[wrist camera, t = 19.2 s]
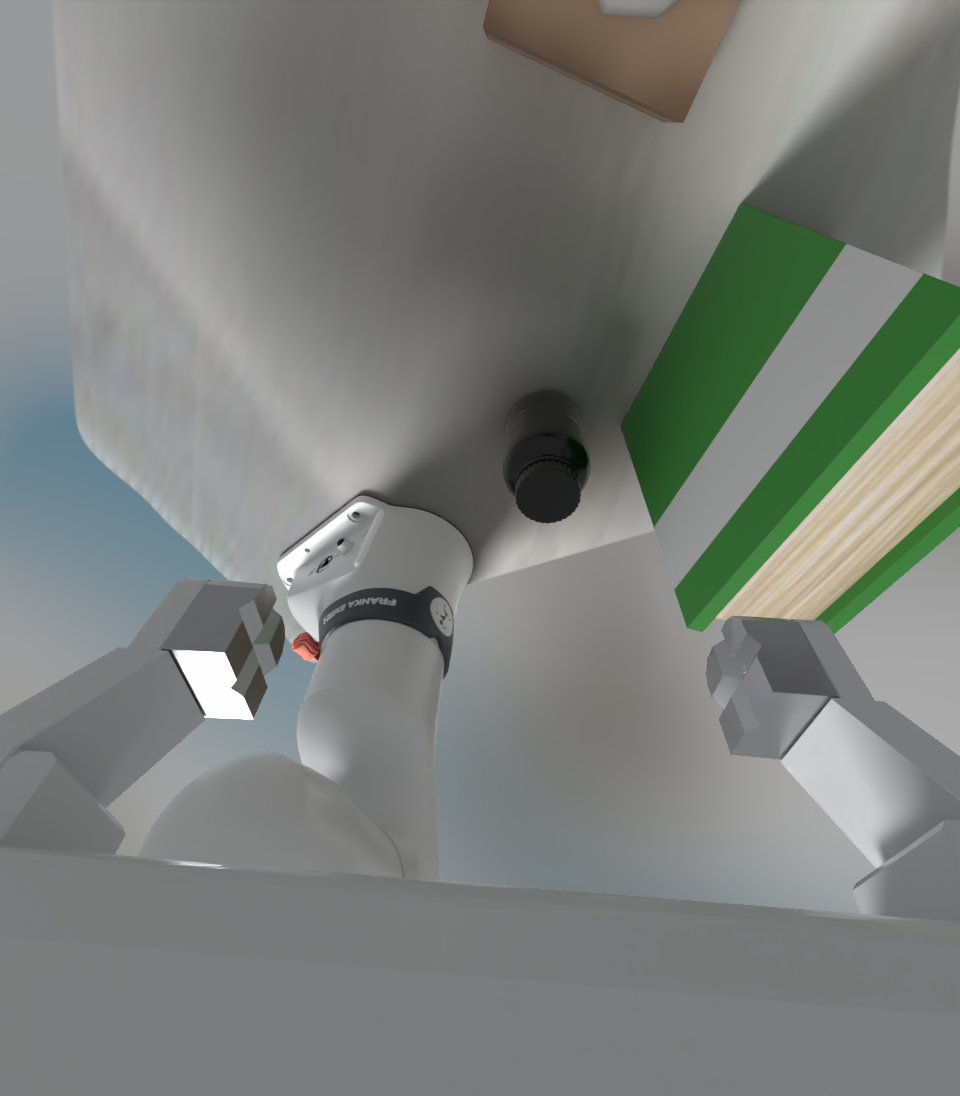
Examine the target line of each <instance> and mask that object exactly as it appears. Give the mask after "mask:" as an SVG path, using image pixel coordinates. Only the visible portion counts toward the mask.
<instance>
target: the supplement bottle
mask: <svg viewBox="0 0 960 1096" xmlns="http://www.w3.org/2000/svg"><path fill="white" fill-rule="evenodd" d="M503 474H504V479H505V483H506V485H507V487H508V489H509V490H510V492H511V493H512V494H513V495H514V496H515V498H516V504H517V505H518V508H519V509H520V510H521V512H522V513H523V514H525V516H526V517H528V518H530V519H531V520H534V521H536V522H541V523H551V522H553V523H555V522H557V521H561V520H562V519H566V518H567V517H568V516H570V515H571V514H572V512H574V511H575V509H576V508H577V507H578V503H579V502H580V497H581V492H582V490H583V489H584V487H585V486H586V484H587V482H588V479H589V475H590V459H589V453H588V448H587V443H586V438H585V433H584V428H583V423H582V419H581V415H580V412H579V410H578V408H577V407H576V405H575V404H574V403H573V402H572V401H571V400H570V399H569V398H567V397H566V396H564V395H562V394H559V393H556V392H552V391H539V392H535V393H532V394H529V395H527V396H525V397H524V398H522V399H521V400H520V401H518V402H517V403H516V404H515V406H514V407H513V408H512V410H511V412H510V413H509V416H508V419H507V423H506V433H505V448H504V462H503Z"/></svg>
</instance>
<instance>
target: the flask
mask: <svg viewBox="0 0 960 1096" xmlns="http://www.w3.org/2000/svg"><path fill="white" fill-rule="evenodd" d="M679 1H680V0H598V3H599V5H600V8H601V11H602V13H603V14H606V15H620V16H634V17H648V18H660V17H661V16H662V15H663V14H664V13H666V12H667V11H668V10H669V9H670V8H672V7H673V6H674V5H675V4H677V3H678V2H679Z"/></svg>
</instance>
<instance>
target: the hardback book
mask: <svg viewBox="0 0 960 1096" xmlns="http://www.w3.org/2000/svg"><path fill="white" fill-rule="evenodd" d="M621 429H622V432H623V435H624V438H625V441H626V444H627V447H628V450H629V453H630V456H631V459H632V462H633V465H634V468H635V471H636V474H637V477H638V480H639V483H640V486H641V490H642V493H643V496H644V499H645V502H646V505H647V508H648V511H649V514H650V517H651V520H652V523H653V526H654V529H655V532H656V535H657V538H658V541H659V544H660V547H661V550H662V553H663V556H664V559H665V562H666V565H667V568H668V571H669V574H670V577H671V580H672V583H673V586H674V589H675V593H676V596H677V599H678V601H679V605H680V608H681V611H682V614H683V617H684V620H685V623H686V626H687V628H689V629H693V630H697V631H701V632H703V631H704V629H706V627H707V626H708V625H709V624H710V623H711V622H712V621H713V620H714V619H715V618H718V619H722V620H725V621H726V620H727V619H729V618H730V617H731V616H749V617H766V618H783V619H789V620H790V619H800V620H817V621H823V622H824V623H825V624H827V625H828V626H829V627H830V629H831V630H832V632H833V633H834V634H835V633H836V632H837V631H838V630H840V629H841V628H842V627H843V626H844V625H845V624H847V623H848V622H849V621H850V620H851V619H852V618H854V617H855V616H856V615H857V614H858V613H859V612H861V611H862V610H863V609H864V608H865V607H866V606H868V605H869V604H870V603H871V602H872V601H873V600H875V598H877V597H878V596H879V595H880V594H881V593H883V592H884V591H885V590H886V589H887V588H888V587H890V586H891V585H892V584H893V583H894V582H896V581H897V580H898V579H899V578H900V577H901V576H903V575H904V574H905V573H906V572H907V571H908V570H910V569H911V568H912V567H913V566H914V565H915V564H916V563H918V562H919V561H920V560H921V559H922V558H923V557H925V556H926V555H927V554H928V553H929V552H930V551H932V550H933V549H934V548H935V547H936V546H937V545H939V544H940V543H941V542H942V541H943V540H944V539H946V538H947V537H948V536H949V535H950V534H951V533H953V532H954V531H955V530H956V529H957V528H958V527H960V287H957V286H955V285H952V284H950V283H947V282H944V281H942V280H939V279H937V278H934V277H932V276H929V275H926V274H924V273H921V272H919V271H916V270H913V269H911V268H908V267H906V266H903V265H900V264H898V263H895V262H893V261H890V260H887V259H885V258H882V257H879V256H877V255H874V254H872V253H869V252H866V251H864V250H861V249H859V248H856V247H853V246H851V245H848V244H846V243H843V242H840V241H838V240H835V239H833V238H830V237H827V236H825V235H822V234H820V233H817V232H814V231H812V230H809V229H807V228H804V227H801V226H799V225H796V224H794V223H791V222H788V221H786V220H783V219H781V218H778V217H775V216H773V215H770V214H768V213H765V212H762V211H760V210H757V209H754V208H752V207H749V206H747V205H744V204H740V206H739V207H738V209H737V211H736V213H735V215H734V217H733V219H732V220H731V222H730V224H729V226H728V228H727V230H726V232H725V233H724V235H723V237H722V239H721V241H720V243H719V245H718V246H717V248H716V250H715V252H714V254H713V256H712V258H711V259H710V261H709V263H708V265H707V267H706V269H705V271H704V272H703V274H702V276H701V278H700V280H699V282H698V284H697V285H696V287H695V289H694V291H693V293H692V295H691V297H690V298H689V300H688V302H687V304H686V306H685V308H684V310H683V311H682V313H681V315H680V317H679V319H678V321H677V323H676V324H675V326H674V328H673V330H672V332H671V334H670V336H669V337H668V339H667V341H666V343H665V345H664V347H663V349H662V350H661V352H660V354H659V356H658V358H657V360H656V362H655V363H654V365H653V367H652V369H651V371H650V373H649V375H648V376H647V378H646V380H645V382H644V384H643V386H642V388H641V389H640V391H639V393H638V395H637V397H636V399H635V401H634V402H633V404H632V406H631V408H630V410H629V412H628V414H627V415H626V417H625V419H624V421H623V423H622V425H621Z"/></svg>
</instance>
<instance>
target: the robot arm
mask: <svg viewBox="0 0 960 1096" xmlns="http://www.w3.org/2000/svg"><path fill="white" fill-rule="evenodd" d="M354 512H358V513H359V514H360V515H357V514H355V513H354ZM277 569H278V573H279V576H280V578H281V580H282V582H283V583H284V585H285V586H286V588H287V589H288V597H287V600H288V605H289V608H290V610H291V612H292V614H293V616H294V617H295V619H296V620H297V621H298V622H299V624H300V625H301V626H302V627H303V628H304V629H305V630H306V631H307V632H308V633H307V632H305V633H302V634H300V635H299V636H297V638H296V639H295V640H294V642H293V643H292V646H291V648H292V650H293V651H295V652H296V653H298V654H300V655H301V656H302V657H303V659H304V660H310V659H312V658H313V659H314V660H315V661H316V662H318V663H317V665H316V668H315V671H314V674H313V676H312V679H311V682H310V684H309V687H308V691H307V693H306V695H305V698H304V701H303V704H302V706H301V709H300V711H299V715H298V720H297V744H298V750H299V753H300V757H301V762H302V764H301V763H299V762H297V761H295V760H292V759H291V758H288V757H286V756H284V755H282V754H279V753H275V752H269V751H256V752H250V753H245V754H242V755H239V756H236V757H233V758H231V759H228V760H226V761H224V762H222V763H219V764H217V765H216V766H214V767H212V768H211V769H209V770H207V771H206V772H204V773H203V774H201V775H200V776H199V777H197V778H196V779H195V780H193V781H192V782H191V783H190V784H188V785H187V786H186V787H185V788H184V789H183V790H182V791H181V792H180V793H179V794H178V795H177V796H176V797H175V798H174V799H173V800H172V801H171V802H170V803H169V804H168V805H167V807H166V808H165V809H164V811H163V812H162V813H161V815H160V816H159V818H158V819H157V821H156V822H155V823H154V825H153V827H152V829H151V830H150V832H149V834H148V836H147V837H146V839H145V842H144V844H143V846H142V848H141V850H140V853H139V855H138V857H134V856H122V855H115V853H116V851H117V850H118V848H119V846H120V844H121V842H122V840H123V838H124V836H125V832H124V828H123V826H122V825H121V824H120V823H119V822H118V821H117V820H116V819H115V817H114V816H112V814H111V813H110V812H109V811H108V810H107V809H106V807H107V806H108V805H110V803H112V802H113V801H114V800H115V799H116V798H117V797H118V796H120V795H121V794H122V793H123V792H124V791H125V790H126V789H128V788H129V787H130V786H131V785H132V784H133V783H134V782H136V780H138V779H139V778H140V777H141V776H142V775H143V774H145V773H146V772H147V771H148V770H149V769H150V768H151V767H153V766H154V765H155V764H156V763H157V762H158V761H159V760H160V759H161V758H163V757H164V756H165V755H166V754H167V753H168V752H169V751H170V750H172V749H173V748H174V747H175V746H176V745H177V744H178V743H180V742H181V741H182V740H183V739H184V738H185V737H186V736H188V734H189V733H191V732H192V731H193V730H194V729H195V728H197V727H198V726H199V725H200V724H201V723H202V722H203V721H205V718H204V717H211V718H234V719H254V716H255V714H256V712H257V710H258V708H259V705H260V703H261V701H262V698H263V696H264V694H265V692H266V690H267V684H266V681H265V679H264V676H265V675H266V674H267V673H268V672H270V671H271V670H272V669H274V668H275V667H277V664H278V662H279V660H280V657H281V655H282V652H283V646H284V641H285V627H284V623H283V619H282V616H281V615H279V614H278V613H277V612H276V611H275V610H273V609H272V608H273V606H274V604H275V602H276V600H277V599H276V596H275V593H274V591H273V588H272V586H270V585H267V584H258V583H247V582H236V581H225V580H214V579H213V580H209V579H198V578H187V577H185V578H183V579H181V580H179V581H177V582H176V583H175V584H174V586H173V587H172V588H171V590H170V591H169V592H168V594H167V595H166V596H165V598H164V599H163V600H162V602H161V603H160V604H159V606H158V607H157V608H156V610H155V611H154V612H153V614H152V615H151V617H150V618H149V619H148V621H147V622H146V623H145V625H144V626H143V627H142V629H141V630H140V631H139V633H138V634H137V635H136V637H135V638H134V639H133V641H132V642H131V643H130V645H129V646H128V647H127V648H122V647H118V648H116V649H115V650H113V651H111V652H109V653H108V654H106V655H104V656H102V657H101V658H99V659H97V660H96V661H94V662H92V663H90V664H88V665H87V666H85V667H83V668H82V669H80V670H78V671H76V672H74V673H73V674H71V675H70V676H67V677H66V678H64V679H62V680H60V681H59V682H57V683H55V684H53V685H52V686H50V687H48V688H46V689H45V690H43V691H41V692H40V693H38V694H36V695H34V696H33V697H31V698H29V699H28V700H26V701H24V702H22V703H20V704H19V705H17V706H15V707H13V708H12V709H10V710H8V711H6V712H5V713H3V714H1V715H0V1096H960V756H958V755H957V754H956V753H954V752H953V751H951V750H950V749H949V748H947V747H946V746H945V745H943V744H942V743H941V742H939V741H938V740H936V739H935V738H934V737H932V736H931V735H930V734H928V733H927V732H925V731H924V730H923V729H921V728H920V727H919V726H917V725H916V724H915V723H913V722H912V721H910V720H909V719H908V718H906V717H905V716H904V715H902V714H901V713H899V712H898V711H897V710H895V709H894V708H893V707H891V706H890V705H888V704H887V703H886V702H881V701H875V700H874V698H873V697H872V696H871V693H870V692H869V690H868V688H867V687H866V686H865V684H864V682H863V680H862V679H861V677H860V676H859V674H858V672H857V671H856V669H855V667H854V666H853V664H852V663H851V661H850V659H849V658H848V656H847V654H846V653H845V651H844V650H843V648H842V647H841V645H840V643H839V642H838V640H837V638H836V637H835V635H834V633H833V632H832V630H831V629H830V627H829V626H828V625H827V624H825V623H824V622H823V621H817V620H800V619H790V620H789V619H783V618H766V617H749V616H731V617H730V618H729V619H727V620H726V622H725V624H724V626H723V628H722V630H721V631H722V633H723V635H724V638H725V640H723V641H721V642H720V643H718V644H716V645H715V646H713V648H712V650H711V652H710V654H709V657H708V659H707V671H706V676H707V683H708V687H709V690H710V693H711V696H712V698H713V699H714V700H715V701H716V702H717V703H718V704H719V705H720V706H721V707H722V708H724V710H723V713H722V715H721V717H720V719H719V721H720V724H721V727H722V729H723V733H724V736H725V739H726V741H727V744H728V747H729V750H730V753H731V755H741V756H751V757H761V758H771V759H781V763H782V764H783V765H784V766H785V768H786V769H787V770H788V771H789V772H790V773H791V774H792V775H793V776H794V778H795V779H796V780H797V781H798V782H799V783H800V784H801V785H802V786H803V787H804V789H805V790H806V791H807V792H808V793H809V794H810V795H811V796H812V797H813V799H814V800H815V801H816V802H817V803H818V804H819V805H820V806H821V807H822V808H823V810H824V811H825V812H826V813H827V814H828V815H829V816H830V817H831V818H832V820H833V821H834V822H835V823H836V824H837V825H838V826H839V827H840V828H841V830H842V831H843V832H844V833H845V834H846V835H847V836H848V837H849V838H850V840H851V841H852V842H853V843H854V844H855V845H856V846H857V847H858V849H859V850H861V852H862V853H863V854H864V855H865V856H866V857H867V858H868V860H869V861H870V862H871V863H872V864H873V865H874V866H875V867H876V868H877V869H875V870H874V871H873V872H871V873H870V874H868V875H867V876H866V877H864V878H863V879H861V880H860V881H859V882H857V883H856V885H855V886H854V888H853V890H852V893H853V895H854V898H855V900H856V903H857V905H858V908H859V910H860V912H861V914H855V913H842V912H829V911H816V910H804V909H791V908H778V907H767V906H754V905H741V904H729V903H716V902H703V901H691V900H678V899H665V898H653V897H641V896H628V895H615V894H602V893H589V892H578V891H565V890H552V889H540V888H527V887H514V886H502V885H489V884H477V883H463V882H452V881H440V879H439V858H438V857H439V853H438V824H437V805H436V788H435V739H436V729H437V721H438V713H439V705H440V697H441V688H442V681H443V679H444V678H445V676H446V674H447V672H448V669H449V662H450V658H451V651H452V644H453V630H454V617H455V615H456V613H457V610H458V606H459V602H460V599H461V596H462V594H463V591H464V589H465V587H466V585H467V583H468V581H469V579H470V577H471V574H472V570H473V557H472V552H471V549H470V547H469V545H468V543H467V541H466V540H465V538H464V537H463V536H462V534H461V533H460V532H459V531H458V530H457V529H456V528H455V527H453V526H452V525H451V524H450V523H448V522H447V521H445V520H444V519H442V518H440V517H438V516H436V515H434V514H431V513H429V512H426V511H422V510H419V509H414V508H406V507H397V506H391V505H388V504H386V503H384V502H381V501H379V500H377V499H374V498H372V497H369V496H358V497H356V498H355V499H353V500H352V501H351V502H350V503H348V504H347V505H346V506H344V507H343V508H342V509H341V510H339V511H338V512H337V513H335V514H334V515H333V516H332V517H330V518H329V519H328V520H326V521H325V522H324V523H323V524H321V525H320V526H319V527H317V528H316V529H315V530H314V531H312V532H311V533H310V534H308V535H307V536H306V537H305V538H303V539H302V540H301V541H299V542H298V543H297V544H296V545H294V546H293V547H292V548H290V549H289V550H288V551H287V552H285V553H284V554H283V555H282V556H281V557H280V558H279V559H278V562H277ZM311 636H312V637H314V638H315V639H316V640H317V641H318V642H319V643H318V642H316V641H314V640H313V638H312V637H311Z"/></svg>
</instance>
